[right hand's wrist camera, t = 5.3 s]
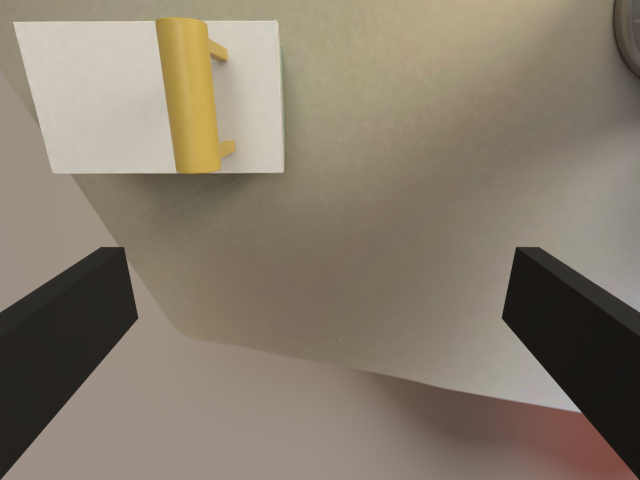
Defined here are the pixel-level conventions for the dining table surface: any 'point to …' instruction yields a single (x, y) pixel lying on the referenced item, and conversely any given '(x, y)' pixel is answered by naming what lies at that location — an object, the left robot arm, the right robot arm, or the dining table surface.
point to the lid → (157, 95)
